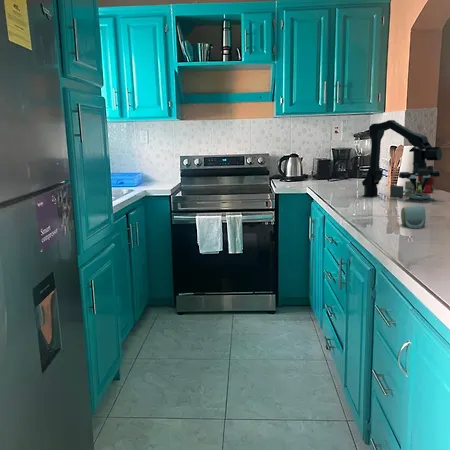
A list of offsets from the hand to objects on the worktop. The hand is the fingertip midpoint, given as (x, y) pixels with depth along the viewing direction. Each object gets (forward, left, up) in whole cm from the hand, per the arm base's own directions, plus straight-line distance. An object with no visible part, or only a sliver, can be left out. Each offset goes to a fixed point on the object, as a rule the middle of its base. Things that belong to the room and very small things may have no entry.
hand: (418, 191), depth 236 cm
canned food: (-12, +26, -5) cm, 29 cm away
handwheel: (+2, -2, -3) cm, 4 cm away
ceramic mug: (+35, -58, -5) cm, 68 cm away
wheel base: (+2, -2, -5) cm, 5 cm away
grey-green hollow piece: (-10, +10, -5) cm, 15 cm away
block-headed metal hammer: (-10, +3, -3) cm, 11 cm away
